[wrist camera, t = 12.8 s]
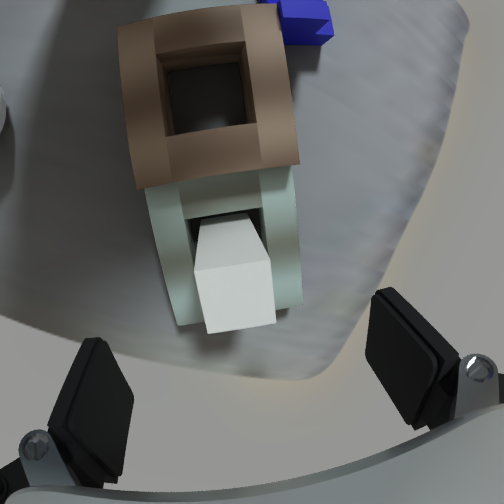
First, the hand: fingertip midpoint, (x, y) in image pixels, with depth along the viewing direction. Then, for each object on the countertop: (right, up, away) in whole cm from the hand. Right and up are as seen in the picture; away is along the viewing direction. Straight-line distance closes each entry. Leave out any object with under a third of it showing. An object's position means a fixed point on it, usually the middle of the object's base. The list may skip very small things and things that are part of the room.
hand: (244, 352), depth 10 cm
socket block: (-2, +10, +12) cm, 16 cm away
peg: (-2, +4, +14) cm, 15 cm away
